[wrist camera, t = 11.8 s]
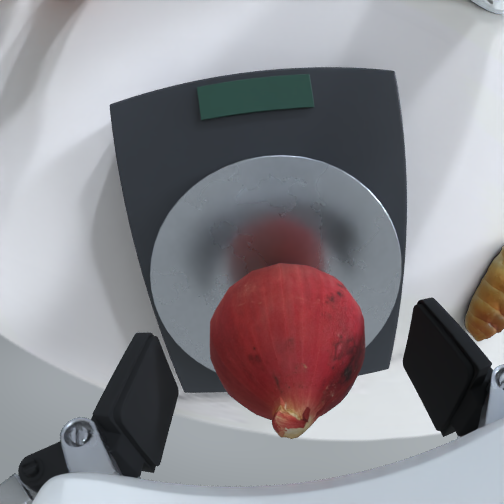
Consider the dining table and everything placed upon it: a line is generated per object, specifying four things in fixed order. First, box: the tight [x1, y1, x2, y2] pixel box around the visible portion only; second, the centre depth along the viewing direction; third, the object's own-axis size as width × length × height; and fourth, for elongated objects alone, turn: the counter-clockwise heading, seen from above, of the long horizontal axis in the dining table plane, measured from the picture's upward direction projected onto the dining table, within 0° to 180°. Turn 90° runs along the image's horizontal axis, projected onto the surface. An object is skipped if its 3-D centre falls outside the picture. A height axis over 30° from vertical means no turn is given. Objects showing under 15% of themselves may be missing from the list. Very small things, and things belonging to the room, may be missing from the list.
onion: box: [210, 263, 365, 439], centre depth 10 cm, size 6×6×8 cm
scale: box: [110, 67, 407, 393], centre depth 15 cm, size 18×14×3 cm
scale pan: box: [150, 155, 402, 372], centre depth 14 cm, size 13×13×1 cm
